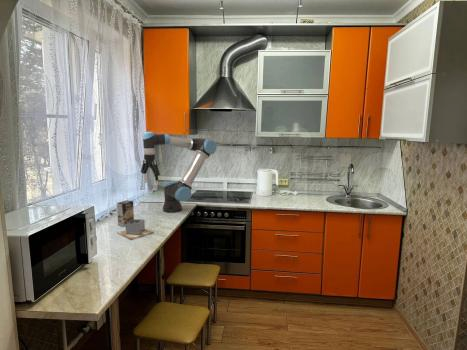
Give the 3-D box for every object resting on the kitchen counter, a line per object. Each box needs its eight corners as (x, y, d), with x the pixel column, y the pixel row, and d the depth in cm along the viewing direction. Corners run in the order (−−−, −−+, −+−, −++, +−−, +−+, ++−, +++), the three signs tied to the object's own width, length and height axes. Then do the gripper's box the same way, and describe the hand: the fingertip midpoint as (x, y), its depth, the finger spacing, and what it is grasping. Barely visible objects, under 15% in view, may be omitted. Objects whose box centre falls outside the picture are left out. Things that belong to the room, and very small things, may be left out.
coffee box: (124, 227, 216) (122, 204, 213) (117, 225, 220) (116, 202, 217) (134, 223, 224) (133, 201, 221) (128, 221, 227) (126, 200, 224)
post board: (140, 227, 215) (139, 216, 214) (153, 233, 205) (153, 221, 203) (117, 233, 204) (117, 221, 202) (130, 240, 193) (130, 227, 192)
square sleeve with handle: (134, 226, 214) (133, 216, 213) (147, 226, 213) (147, 216, 212) (126, 234, 200) (125, 223, 198) (140, 234, 199) (139, 223, 198)
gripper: (135, 153, 229) (136, 182, 232) (154, 155, 212) (156, 187, 216) (144, 152, 234) (145, 180, 238) (164, 154, 217) (165, 185, 221)
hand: (150, 183), depth 227 cm, fingers open, 13 cm apart
